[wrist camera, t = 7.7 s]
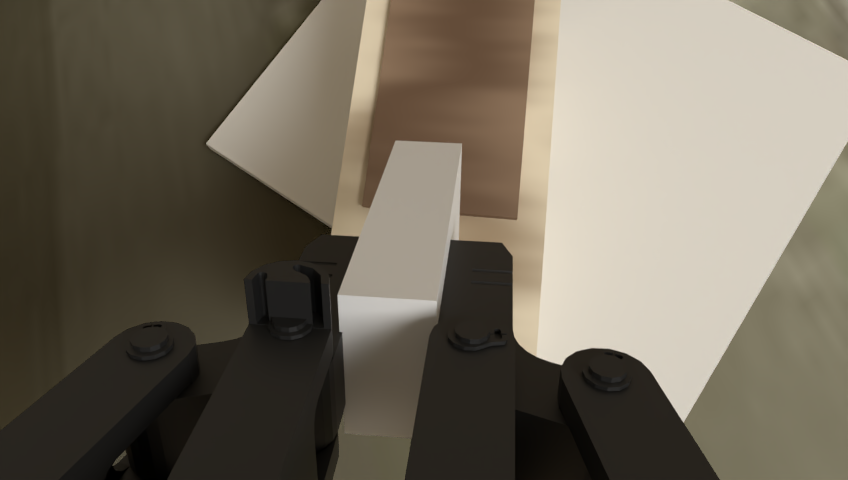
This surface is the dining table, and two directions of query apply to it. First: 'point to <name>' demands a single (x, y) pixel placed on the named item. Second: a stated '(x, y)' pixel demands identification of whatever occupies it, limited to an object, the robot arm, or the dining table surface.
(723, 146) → the mat
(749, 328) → the dining table surface
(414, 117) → the birch block
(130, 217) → the dining table surface
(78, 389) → the robot arm
